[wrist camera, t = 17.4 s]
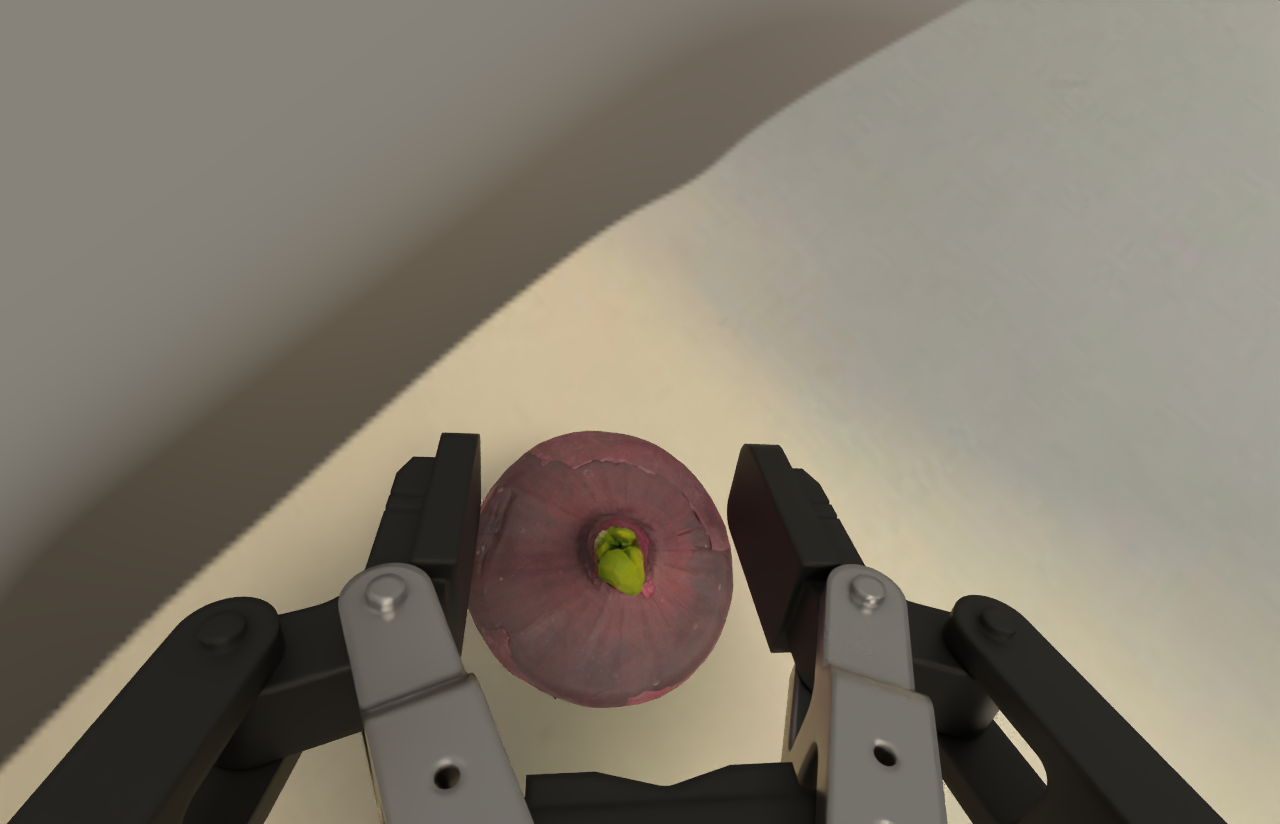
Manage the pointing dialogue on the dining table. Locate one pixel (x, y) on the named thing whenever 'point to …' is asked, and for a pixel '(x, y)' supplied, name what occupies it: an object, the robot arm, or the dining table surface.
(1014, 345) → the dining table surface
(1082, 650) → the dining table surface
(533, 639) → the vegetable
